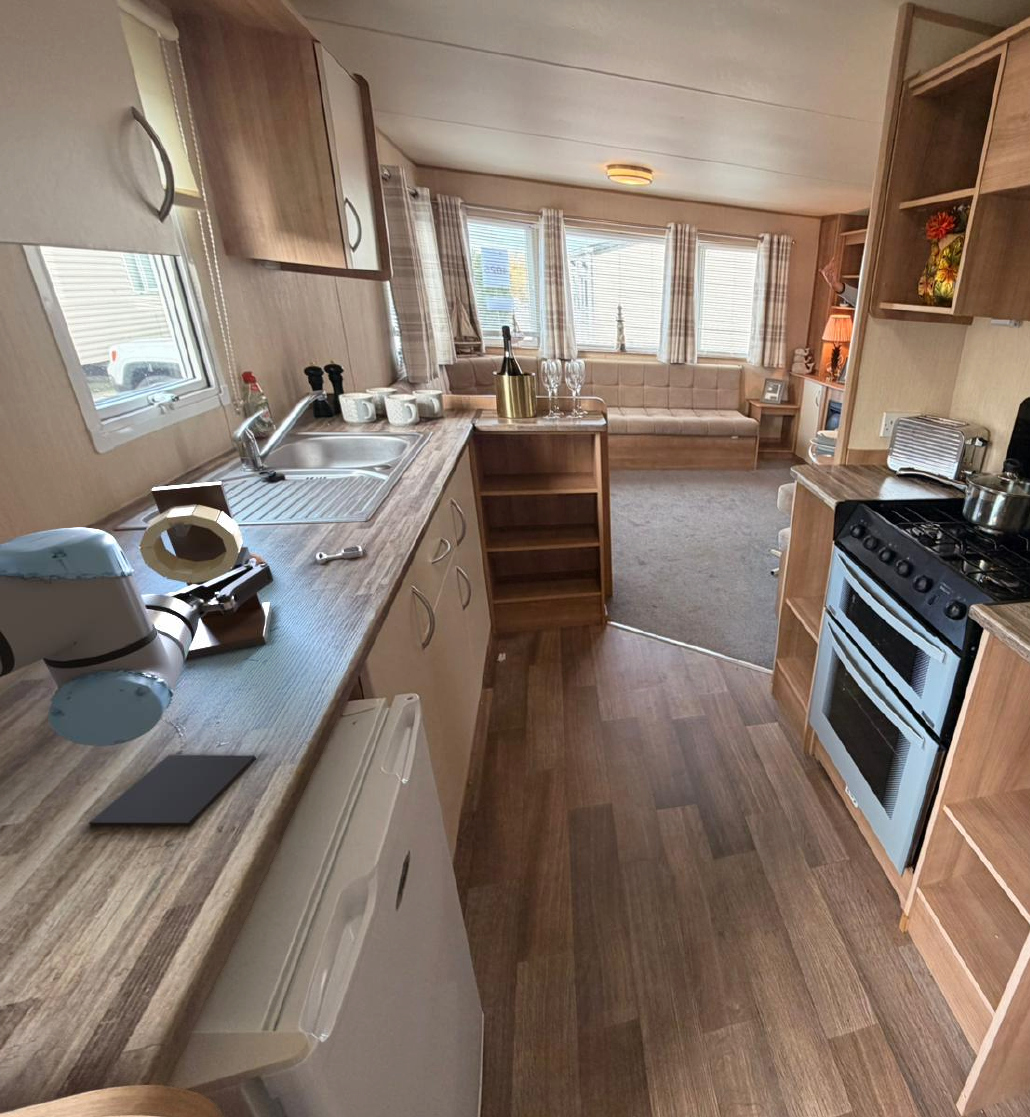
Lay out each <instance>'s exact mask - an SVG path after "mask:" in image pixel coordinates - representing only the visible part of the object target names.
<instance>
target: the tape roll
mask: <svg viewBox="0 0 1030 1117" xmlns="http://www.w3.org/2000/svg"><path fill="white" fill-rule="evenodd" d="M175 522H183V523H184V525H188V524H193V525H197V526H201V527H205V528H208V529H211V530H212V531H213V532H214V533H216V534H217V535H218V536H220V537H221V538H222V539H223V541H224V544H225V547H226V550H227V551H226V552H225V553H223V554H222V555H220V556H219V557H217V558H215V559H214V560H208V561H201V562H194V561H190V560H185V559H181V558H178V557H176V554H175V553H172V552H171V551H170V550H168V549H167V548H166V546H165V543H164V540H163V538H162V534H163V533H164V532H165V531H166V530H167V529H169V528H171V527H172V526H174V523H175ZM166 532H167V531H166ZM243 542H244V538H243V536H242V533H241V529H240V526H239V525H238V523H237V522H236V520H235V521H233V520H232V519H231V518H230V517H228V516H227V515H226V514H225V513H223V512H222V511H221V512H220V510H217V509H213V508H209V507H206V506H202V505H198V506H197V505H196V504H195V505H186V506H176V507H173V508H172V507H171V508H170V509H168V510H166V511H165V512H163V513H161V514H160V513H159V514H158V515H157V516H155V517H154V518H153V519H152V521H151V522H150V523H149V524H148V526H147V527H146V529H145V530H144V533H143V535H142V538H141V540H140V542H139V544H138V550H139V551H140V554H141V556H142V559H143V562H144V564H145V565H146V566H147V567H148V568H150V569H151V570H153V572H156V573H157V574H159V575H160V576H161V577H162V578H166V579H167V580H171V581H176V582H180V583H181V582H182V583H185V584H187V583H190V582H191V583H197V582H204V581H210V580H213V579H215V578H217V577H219V576H221V575H223V574H225V573H226V572H228V571H229V570H231V569H232V568H233V567H234V564H235V562H236V559H237V557H238V555H239V552H240V549H241V546H242V544H243Z"/></svg>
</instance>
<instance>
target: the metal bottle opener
mask: <svg viewBox="0 0 1030 1117" xmlns="http://www.w3.org/2000/svg"><path fill="white" fill-rule="evenodd" d="M362 556H363V550H362V548H361V546H360V545H354V546H349V547H348V546H347V547H344V548H342V549H341V550H340V552H339V553H336V554H326V553H324V552H323V551H319V552H317V553H316V555H315V559H316V563H318V564H319V565H324V564H325V563H326V562H327V561H332V560H336V559H354V558H360V557H362Z"/></svg>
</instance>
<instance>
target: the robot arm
mask: <svg viewBox="0 0 1030 1117" xmlns="http://www.w3.org/2000/svg"><path fill="white" fill-rule="evenodd" d="M250 553H251V552H250V550H249V547H248V546H243V547H242V548H241V549H240V552H239V555H238V557H237V560H236V563H235V567H236V569H235V570H232V571H230V572H228V573H226V574H224V575H221V576H219V577H217V578H215V579H213V580H210V581H208V582H206V583H204V584H202V585H196V584H192V585H190V586H186V587H183V588H182V589H179V590H177V591H170V592H167V593H165V594H158V593H157V594H156V593H148V594H147V593H146V594H142V593H141V591H140V588H139V584H138V583H137V581H136V577H135V575H134V574H135V570H134V569H133V567H132V565H131V564H130V562H129V560H128V558H127V556H126V555H125V553H124V550H123V549H122V548H121V546H120V545H119V543H118V541H117V540H116V539H115V537H114V536H113V535H111V533H109V532H107V531H104V530H101V529H98V528H97V529H96V528H89V527H64V528H56V529H55V528H54V529H49V530H42V531H37V532H33V533H28V534H25V535H21V536H17V537H15V538H11V539H9V540H8V541H6V542H5V543H1V544H0V678H2V677H4V676H7V675H10V674H12V673H15V672H17V671H18V670H21V669H23V668H25V667H28V666H30V665H32V664H35V663H37V662H39V661H41V660H43V662H44V664H45V666H46V668H47V670H48V671H49V673H50V675H51V676H52V679H53V680H54V682H55V684H56V686H57V690H55V691H54V694H53V696H52V697H51V699H50V702H51V703H50V706H49V709H48V713H47V716H48V718H47V719H48V722H49V725H50V727H51V728H52V730H53V731H54V732H55V733H56V734H57V735H59V736H60V737H61V738H63V739H64V740H67V741H69V742H72V743H75V744H78V745H83V746H91V747H109V746H114V745H120V744H125V743H128V742H131V741H134V740H136V739H138V738H140V737H142V736H144V735H145V734H147V733H149V732H150V731H151V730H153V729H154V728H155V727H156V725H158V723H159V722H160V721H161V719H162V717H163V715H164V713H165V711H166V710H167V709H168V708H169V707H170V705H171V704H172V701H173V699H174V694H175V690H176V687H177V684H178V682H179V678H180V675H181V674H182V669H183V666H184V663H185V662H186V660H185V659H186V657H187V654H188V651H189V649H190V646H191V644H192V642H193V639H194V637H195V634H196V632H197V629H198V624H199V619H200V618H201V617H203V616H204V615H206V613H207V612H209V611H216V610H220V611H222V613H223V615H230V614H233V613H235V612H236V610H237V608H238V607H239V605H241V604H242V603H243V602H245V601H246V600H248V599H249V598H250V597H252V596H253V595H255V594H256V593H257V592H260V591H262V590H263V589H265V588H266V587H268V586H269V585H270V584H272V583H273V582H274V581H275V579H274V576H273V573H272V570H271V567H270V565H269V564H270V563H267V562H266V564H261V565H258V563H257V560H256V559H255V558H254V559H251V556H250ZM191 594H193V595H194V596H191Z"/></svg>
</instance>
